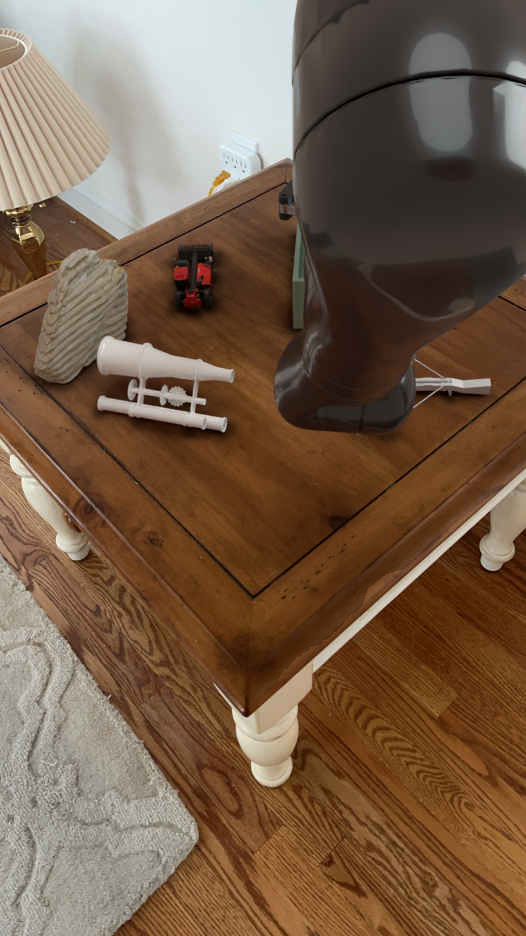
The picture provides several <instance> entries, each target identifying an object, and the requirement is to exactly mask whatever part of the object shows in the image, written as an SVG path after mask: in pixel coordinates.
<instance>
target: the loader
mask: <svg viewBox="0 0 526 936" xmlns="http://www.w3.org/2000/svg"><path fill="white" fill-rule="evenodd" d="M177 244H178V246H177V254H178V259H177V258H176V257H173V258H172V260H173V261H174V263H173V270H172V275H173V276H172V279H173V280H172V283H173V284H174V286H175V289H174V302H175V308H176V309H177V310H179V309H180V310H181V309H184V307H186V308H191V310H194V309H195V308H198V307H201V306H202V300H203V304H204V307H205V308H212V306H213V294H212V293H213V292H212V285H213V283H212V281H213V280H214V265H213V263H215V255H216V253H215V252H214V245H213V243H212V241H209V244H208V243H199V244H198V243H197V244H195V243H194V244H191V245H188V244H181V243H180V242H179V243H177Z"/></svg>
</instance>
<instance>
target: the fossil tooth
mask: <svg viewBox="0 0 526 936" xmlns="http://www.w3.org/2000/svg"><path fill="white" fill-rule="evenodd" d="M52 280H53V283H54V284H53V285H52V287H51V289H50V291H49V292H48V295H47V299H46V300H47V301H46V302H47V309H46V310H45V312H44V315H43V317H42V321H41V323H42V325H41V328H40V333H39V335H38V338H37V341H38V345H37V347H36V349H35V356H34V363H33V369H34V375H36V376H38V377H39V378H41V379H43V380H44V381H46V382H48V383H54V384H55V383H56V384H67V383H70V382H71V381H72V380H73V379H74V378H75V377H77V376H78V375H79V373H80V372H81V370H82V369H83V368H84V367H87V366H89V365H90V364H91V363H92V362H93V361H95V360H97V354H98V349H99V346H100V343H101V341H102V340H103V339H104V338H105V337H106V336H111V337H113V338H114V339H116V340H121V341H123V340H124V339H125V338H126V331H125V330H127V329H128V328H127V322H128V316H127V315H128V311H129V298H128V297H129V295H130V294H129V285H128V272H127V271H126V270H125V268H124V266H121V265H118V261H117V260H116V259H111V258H105V259H103V258H100V256H99V251H96V250H95V249H88V248H87V247H84V248H83V247H82V248H81V249H79V248H78V249H77V250H75V251H72V252H71V253H70V254H69V255H68V256H67V257H65V258H64V259H63V260H61V262H60V265H59V267H58V270H57V271H56V273H55V275H54V277H53V279H52Z"/></svg>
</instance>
